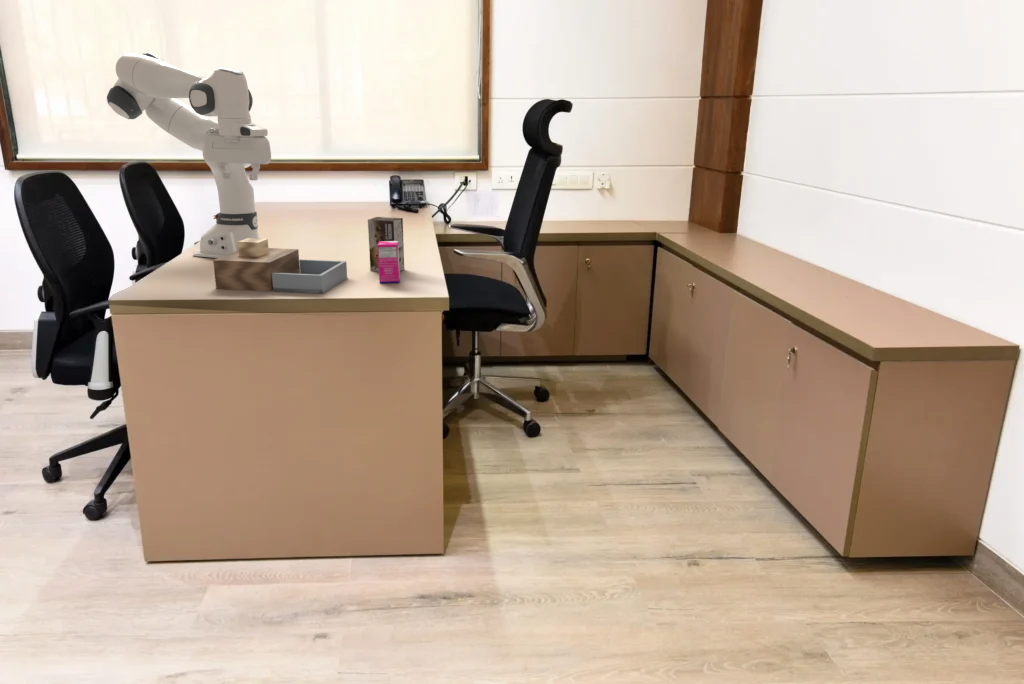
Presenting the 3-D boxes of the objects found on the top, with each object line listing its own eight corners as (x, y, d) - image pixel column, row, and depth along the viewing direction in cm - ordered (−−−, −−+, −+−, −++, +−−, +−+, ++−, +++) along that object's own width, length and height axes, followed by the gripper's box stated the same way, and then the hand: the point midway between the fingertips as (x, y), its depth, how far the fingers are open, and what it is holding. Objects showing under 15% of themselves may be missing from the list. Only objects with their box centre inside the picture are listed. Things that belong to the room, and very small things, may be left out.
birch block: (239, 255, 210) (237, 241, 209) (248, 251, 216) (247, 238, 214) (259, 256, 209) (258, 242, 208) (268, 252, 215) (267, 238, 214)
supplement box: (380, 279, 221) (378, 240, 217) (400, 279, 221) (399, 240, 218) (378, 283, 215) (377, 244, 212) (399, 283, 216) (398, 244, 212)
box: (273, 291, 204) (271, 273, 203) (301, 275, 223) (300, 259, 222) (322, 293, 203) (321, 275, 201) (347, 277, 222) (346, 261, 220)
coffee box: (405, 269, 235) (403, 217, 230) (395, 273, 229) (394, 220, 224) (379, 267, 237) (377, 216, 233) (369, 270, 232) (367, 218, 227)
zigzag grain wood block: (216, 288, 206) (213, 260, 204) (249, 273, 225) (246, 247, 223) (271, 291, 204) (269, 262, 202) (300, 275, 223) (298, 249, 221)
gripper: (197, 128, 210) (202, 178, 214) (258, 130, 204) (262, 181, 208) (212, 128, 216) (217, 177, 220) (272, 129, 209) (276, 180, 214)
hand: (239, 179), depth 214 cm, fingers open, 8 cm apart
